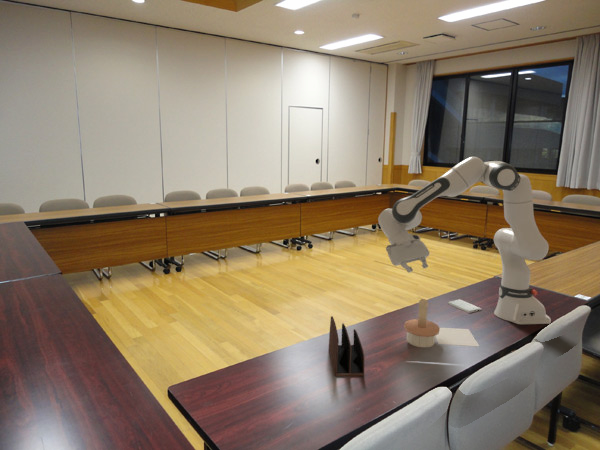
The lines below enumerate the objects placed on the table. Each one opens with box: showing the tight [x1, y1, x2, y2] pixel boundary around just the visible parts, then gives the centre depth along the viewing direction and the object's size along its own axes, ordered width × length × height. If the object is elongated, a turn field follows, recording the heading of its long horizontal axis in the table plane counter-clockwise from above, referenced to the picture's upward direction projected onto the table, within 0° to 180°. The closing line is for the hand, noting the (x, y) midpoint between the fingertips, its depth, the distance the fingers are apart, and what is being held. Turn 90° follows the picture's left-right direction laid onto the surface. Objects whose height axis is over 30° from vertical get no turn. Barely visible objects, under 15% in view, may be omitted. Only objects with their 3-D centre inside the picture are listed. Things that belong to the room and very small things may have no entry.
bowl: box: [406, 331, 436, 348], centre depth 162 cm, size 10×10×6 cm
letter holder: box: [328, 316, 365, 377], centre depth 147 cm, size 10×20×14 cm, turn 2°
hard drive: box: [447, 299, 482, 314], centre depth 199 cm, size 2×8×12 cm
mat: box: [435, 327, 480, 347], centre depth 167 cm, size 15×15×1 cm
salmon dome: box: [403, 298, 441, 337], centre depth 161 cm, size 13×13×12 cm
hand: (418, 269), depth 175 cm, fingers open, 8 cm apart
